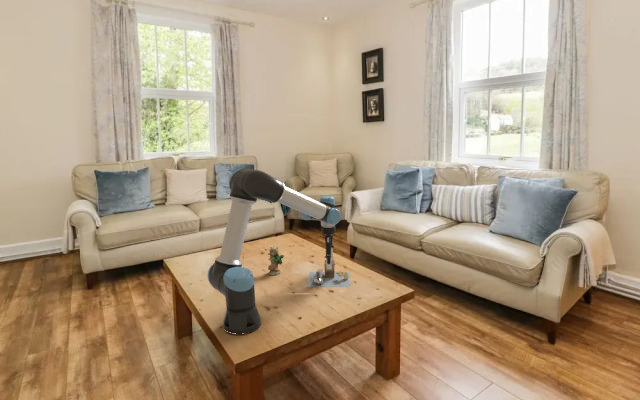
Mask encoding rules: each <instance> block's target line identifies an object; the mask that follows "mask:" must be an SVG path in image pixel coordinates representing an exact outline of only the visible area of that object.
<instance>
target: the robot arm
mask: <svg viewBox="0 0 640 400" xmlns="http://www.w3.org/2000/svg"><path fill="white" fill-rule="evenodd" d="M228 186H229V189H230V194H229V198H230V199H231V205H230V209H229V214H228V219H227V223H226V228H225V232H224V237H223V241H222V244H221V249H220V254H219V255H218V256H216V257H215V258H214V262H213V263H212V265H210V267H209V268H208V271H207V281H208V282H209V284H210V286H211V287H213V288H214V289H215V290H216V291H218V292H219V293H220V294H222V295H223V296H224V297H225V306H226V311H225V314H224V319H223V330H224V329H225V330H226V331H228V332H231V333H236V334H242V333H248V332H251V333H253V332H255V331H257V330H258V329H259V328H260V327H261V325H262V317H261V315H260V313H259V311H258V308H257V306H256V305H257V304H256V293H255V291H256V290H255V277H254V274H253V272H252V270H251V269H250V268H247V267H243V262H242V260H241V255H242V251H243V246H244V242H245V237H246V232H247V229H248V225H249V219H250V216H251V215H250V214H251V210H252V206H253V205H255V204H256V203H257V201H258V200H263V201H264V200H265V201H268V202H270V203H273V204H275V203H279V204H281V205H284V206H286V207H289V208H291V209H293V210H295V211H297V212H299V213H300V216H301V219H303V220H304V221H310V220H315V221H319V222H320V226H321V230H320V231H321V234H322V235H325V237H324V242H325V256H324V258H325V260H326V267H327V269H332V260H334V252H333V251H334V248H335V246H334V244H333V241H334V237H333V235H334V234H336V233H337V230H336V229H337V228H336V225H337V224H338V223H340V222H341V219H342V214H341V211H340V210H339V209H337V208H336V202H335V201H336V199H335V197H334V196H331V195H324V196H320V199H319V201H318V200H315V199H314V198H312V197H309V196H307V195H305V194H303V193H301V192H299V191H296V190H294V189H292V188H290V187H288V186H286V185H285V183H284V181H281V180H279V179H277V178H276V177H274V176H271V175H270V174H268V173H267V172H265V171H262V170H259V169H252V168H244V167H243V168H237V169H236V170H234V171H233V172H232V173H231V174H230V176H229V179H228ZM256 329H257V330H256ZM225 330H224V331H225ZM254 330H255V331H254ZM226 331H225V332H226ZM252 331H253V332H252ZM248 334H249V333H248Z"/></svg>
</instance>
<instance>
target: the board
mask: <svg viewBox="0 0 640 400" xmlns="http://www.w3.org/2000/svg"><path fill="white" fill-rule="evenodd" d="M337 272H338V271H335V276H334V278H325V271H323V277H322V279H323V283H322V284H319V285H317V284H314V278H317V279H320V271H309V274H308V278H307V281H306V284H305V288H306V287H309V288H313V287H314V288H315V287H316V288H320V287H321V288H331V287H332V288H349V287H351V272H350V271H346V272H347V273H348V280H345V279H344V276H342V277H339V276H338V274H337Z"/></svg>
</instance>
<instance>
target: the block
mask: <svg viewBox="0 0 640 400" xmlns="http://www.w3.org/2000/svg"><path fill="white" fill-rule="evenodd" d="M323 265H324V272H325V278H334V276H335V272H336V271H335V270H336V269H335V260H334V259H333V260H332V269H327V267H326V259H325V260H324V264H323Z"/></svg>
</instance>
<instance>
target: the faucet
mask: <svg viewBox="0 0 640 400" xmlns="http://www.w3.org/2000/svg"><path fill="white" fill-rule="evenodd" d="M317 271H320V279H317V278H314V284H317V285H319V284H322V283H323V279H322V277H323V272H324V269H317ZM317 271H316V272H317Z"/></svg>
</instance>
